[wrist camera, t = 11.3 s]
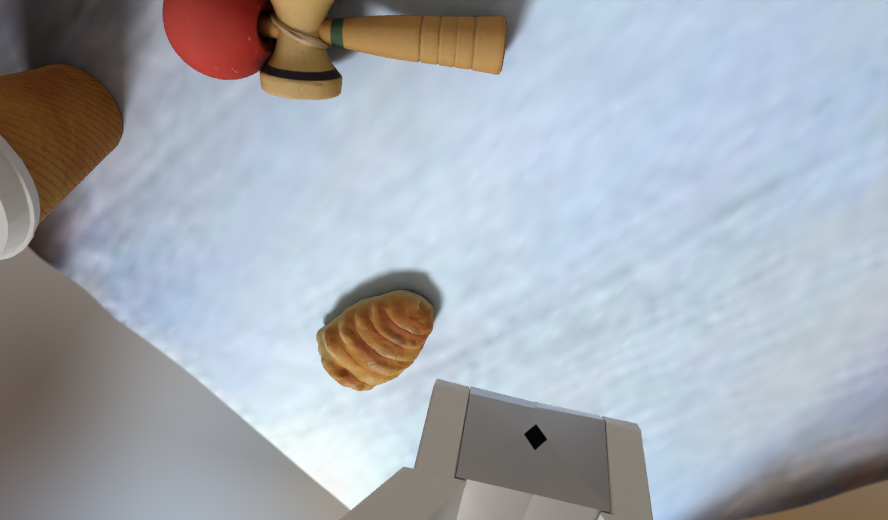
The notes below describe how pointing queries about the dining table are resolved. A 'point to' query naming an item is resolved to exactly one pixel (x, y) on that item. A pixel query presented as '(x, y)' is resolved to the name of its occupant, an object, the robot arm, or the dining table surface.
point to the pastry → (375, 339)
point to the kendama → (319, 41)
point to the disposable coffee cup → (48, 144)
